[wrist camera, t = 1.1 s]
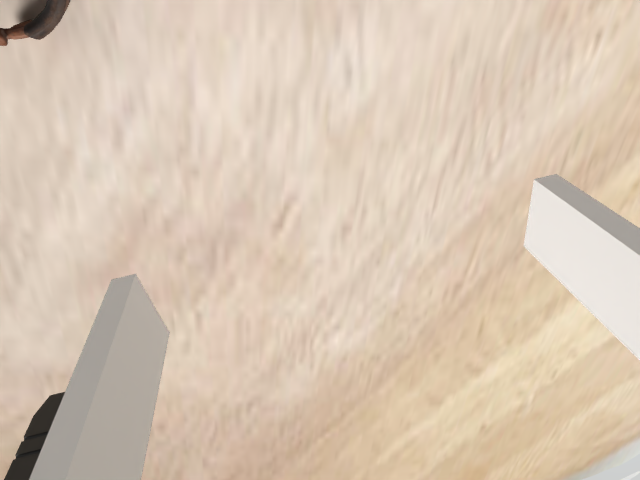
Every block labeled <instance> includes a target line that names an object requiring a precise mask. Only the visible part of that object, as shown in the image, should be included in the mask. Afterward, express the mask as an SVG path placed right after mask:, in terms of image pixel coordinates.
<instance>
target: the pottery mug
mask: <svg viewBox="0 0 640 480" xmlns="http://www.w3.org/2000/svg"><path fill="white" fill-rule="evenodd" d="M69 2H70V0H48V1H47V4H46V6H45V8H44V10H43V11H42V12H41V13H40V14H39V15H38V16H37V17H36V18H35V19H34V20H28V21H25V22H22V23H19V24H17V25H14V26H13V27H11V28H8V29H3V28H0V46H6V45H7V42H8V40H7V39H22V38H28V37H31V38H34V39H38V40H39V39H42V38H44V37H45V36H47V35H48V34H49V33H50V32H51V31H52V30H53V29H54V28H55V27H56V25H57V24H58V23H59V22H60V20H61V19H62V16H63V15H64V13H65V11H66V9H67V7H68V5H69Z"/></svg>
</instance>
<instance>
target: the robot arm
mask: <svg viewBox="0 0 640 480" xmlns="http://www.w3.org/2000/svg"><path fill="white" fill-rule="evenodd" d="M524 247H525V248H526V249H527V250H528V251H529V252H530V253H531V254H532V255H533V256H534V257H535V258H536V259H537V260H538V261H539V262H540V263H541V264H542V265H543V266H544V267H545V268H546V269H547V270H548V271H549V272H550V273H551V274H552V275H553V276H554V277H555V278H556V279H557V280H558V281H560V282H561V283H562V284H563V285H564V286H565V287H566V288H567V289H568V290H569V291H570V292H571V293H572V294H573V295H574V296H575V297H576V298H577V299H578V300H579V301H580V302H581V303H582V304H583V305H584V306H585V307H586V308H587V309H588V310H589V311H590V312H591V313H592V314H593V315H594V316H595V317H596V318H597V319H598V320H599V321H600V322H601V323H602V324H603V325H604V326H605V327H606V328H607V329H608V330H609V331H610V332H611V333H612V334H613V335H614V336H615V337H616V338H617V339H618V340H619V341H620V342H621V343H622V344H624V345H625V346H626V347H627V348H628V349H629V350H630V351H631V352H632V353H633V354H634V355H635V356H636V357H637V358H638V359H639V360H640V228H638V227H637V226H635V225H634V224H632V223H631V222H629V221H628V220H626V219H625V218H623V217H621V216H620V215H618V214H617V213H615V212H614V211H612V210H611V209H609V208H608V207H606V206H605V205H603V204H602V203H600V202H599V201H597V200H595V199H594V198H592V197H591V196H589V195H588V194H586V193H585V192H583V191H582V190H580V189H579V188H577V187H576V186H574V185H572V184H571V183H569V182H568V181H566V180H565V179H563V178H562V177H560V176H559V175H557V174H554V175H550V176H546V177H542V178H538V179H534V183H533V190H532V196H531V202H530V209H529V215H528V222H527V228H526V235H525V241H524ZM169 333H170V332H169V331H168V329H167V327H166V325H165V324H164V322H163V320H162V318H161V317H160V315H159V313H158V312H157V310H156V308H155V306H154V305H153V303H152V301H151V299H150V298H149V296H148V294H147V293H146V291H145V289H144V287H143V286H142V284H141V282H140V280H139V279H138V277H137V275H136V274H133V275H129V276H125V277H121V278H116V279H112V280H111V282H110V285H109V287H108V290H107V292H106V294H105V297H104V299H103V302H102V304H101V307H100V309H99V311H98V314H97V316H96V319H95V321H94V323H93V326H92V328H91V331H90V333H89V336H88V338H87V340H86V343H85V345H84V348H83V350H82V353H81V355H80V357H79V360H78V362H77V365H76V367H75V369H74V372H73V374H72V377H71V379H70V382H69V384H68V386H67V389H66V391H65V392H62V393H58V394H54V395H50V396H49V398H48V399H47V400H46V401H45V403H44V404H43V405H42V406H41V407H40V409H39V410H38V411H37V412H36V414H35V415H34V416H33V418H32V421H31V423H30V425H29V427H28V429H27V431H26V434H25V436H24V441H23V442H21V444H20V447H19V449H18V451H17V453H16V459H15V460H13V462H12V464H11V466H10V468H9V470H8V473H7V475H6V477H5V479H4V480H141V477H142V472H143V467H144V461H145V456H146V451H147V446H148V441H149V436H150V431H151V425H152V420H153V415H154V410H155V405H156V400H157V395H158V389H159V384H160V379H161V374H162V369H163V364H164V359H165V353H166V348H167V343H168V338H169Z"/></svg>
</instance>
